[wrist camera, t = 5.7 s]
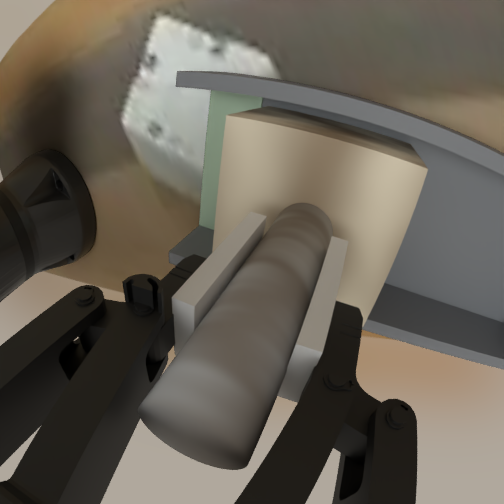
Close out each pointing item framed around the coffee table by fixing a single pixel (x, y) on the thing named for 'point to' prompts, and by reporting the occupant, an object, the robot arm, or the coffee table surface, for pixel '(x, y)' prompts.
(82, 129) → the coffee table surface
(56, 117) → the coffee table surface
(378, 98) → the coffee table surface
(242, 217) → the beige block with post
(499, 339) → the bay
